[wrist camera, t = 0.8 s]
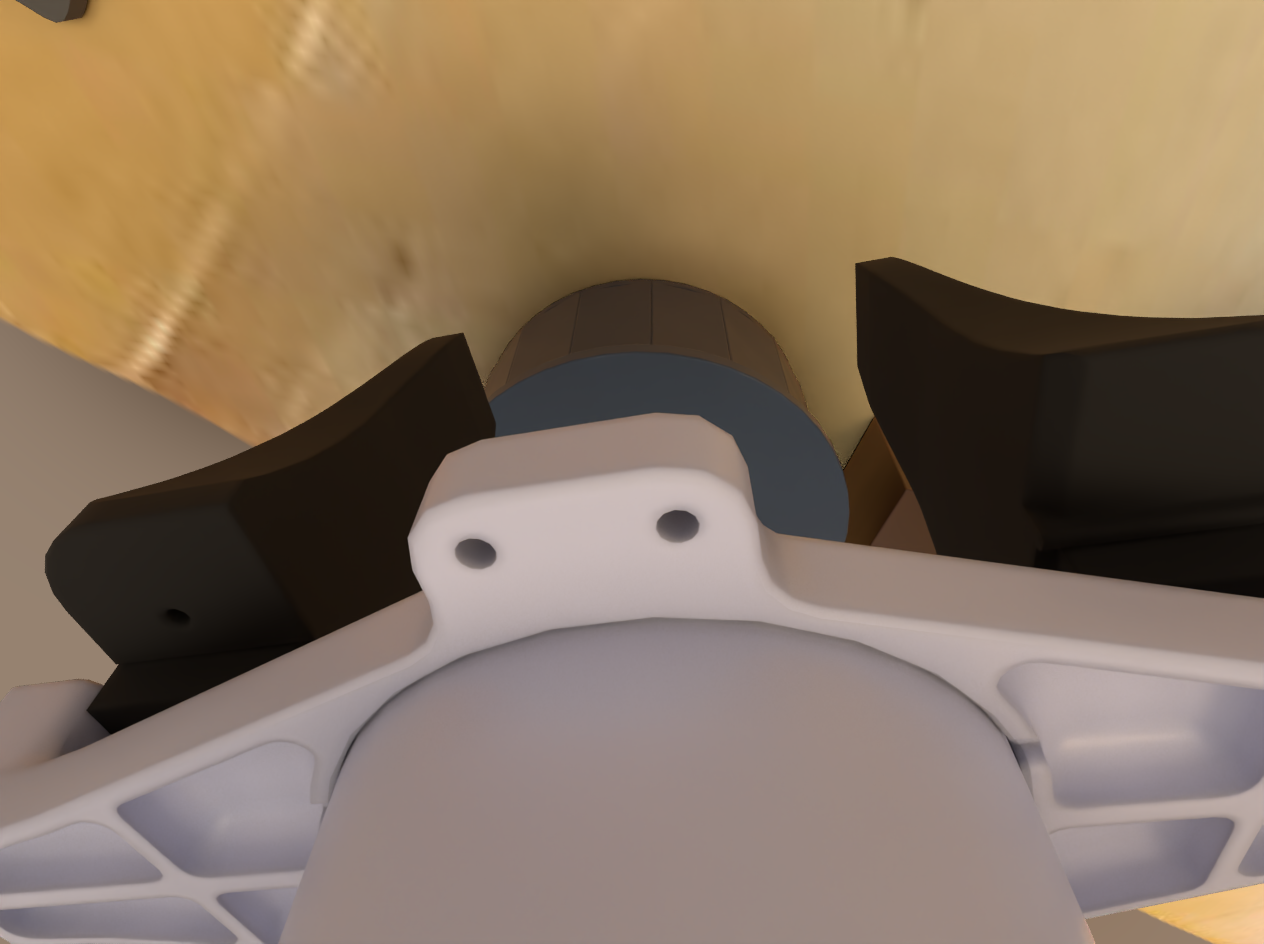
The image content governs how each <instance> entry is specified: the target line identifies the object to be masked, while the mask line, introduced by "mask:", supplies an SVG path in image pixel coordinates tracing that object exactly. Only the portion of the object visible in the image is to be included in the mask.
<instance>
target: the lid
mask: <svg viewBox="0 0 1264 944" xmlns="http://www.w3.org/2000/svg"><path fill="white" fill-rule="evenodd" d="M487 399H488V402H489V405H490V408H491V410H492V413H493V416H494V419H495V421H496V431H495V438H496V437H503V436H509V435H515V434H522V433H528V432H535V431H541V430H547V429H554V428H560V427H566V426H573V425H579V424H586V423H592V422H598V421H605V420H611V419H618V418H624V417H630V416H637V415H643V414H650V413H669V414H684V415H699V416H700V417H702V418H704V419H705V420H707V421H709V422H710V423H712V424H714V425H715V426H717V427H719V428H720V429H722V430H724V431H725V432H727V433H729V434H730V435H732V436H733V438H734V440H735V442H736V444H737V446H738V448H739V450H740V452H741V454H742V456H743V458H744V460H745V462H746V464H747V466H748V471H749V477H750V483H751V488H752V494H753V500H754V506H755V511H756V515H757V517H758V518H759V520H760V521H761V523H762V524H763V525H764V526H766V527H767V528H769V529H770V530H772V531H774V532H775V533H778V534H784V535H791V536H799V537H806V538H814V539H821V540H829V541H836V542H844V543H845V540H846V536H847V532H848V522H849V513H850V512H849V498H848V489H847V485H846V481H845V477H844V473H843V469H842V466H841V463H840V461H839V459H838V456H837V454H836V452H835V450H834V447H833V445H832V443H831V441H830V439H829V438H828V436H827V435H826V433H825V432H824V430H823V429H822V427H821V426H820V424H819V423H818V421H817V420H816V419H815V418H814V417H813V416H812V415H811V413H810V412H809V411H808V410H807V409H806V408H805V407H804V406H803V405H802V404H801V403H800V402H799V401H798V400H797V399H796V398H794V397H793V396H792V395H791V394H789V393H788V392H787V391H786V390H784V389H783V388H782V387H781V386H780V385H778V384H776V383H775V382H773V381H771V380H770V379H768V378H766V377H765V376H763V375H761V374H760V373H758V372H756V371H755V370H752V369H750V368H748V367H745V366H743V365H741V364H738V363H736V362H734V361H732V360H729V359H727V358H723V357H720V356H716V355H713V354H709V353H706V352H703V351H699V350H694V349H687V348H681V347H675V346H669V345H650V344H629V345H616V346H604V347H599V348H594V349H589V350H584V351H579V352H575V353H572V354H569V355H565V356H562V357H559V358H556V359H553V360H550V361H547V362H545V363H543V364H541V365H539V366H537V367H535V368H533V369H530V370H528V371H526V372H524V373H522V374H520V375H519V376H517V377H516V378H514V379H513V380H511V381H510V382H508V383H506V384H505V385H503V386H502V387H500V388H499V389H497V390H496V391H495V392H494V393H493V394H492V395H491V396H490V397H488V398H487Z"/></svg>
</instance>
